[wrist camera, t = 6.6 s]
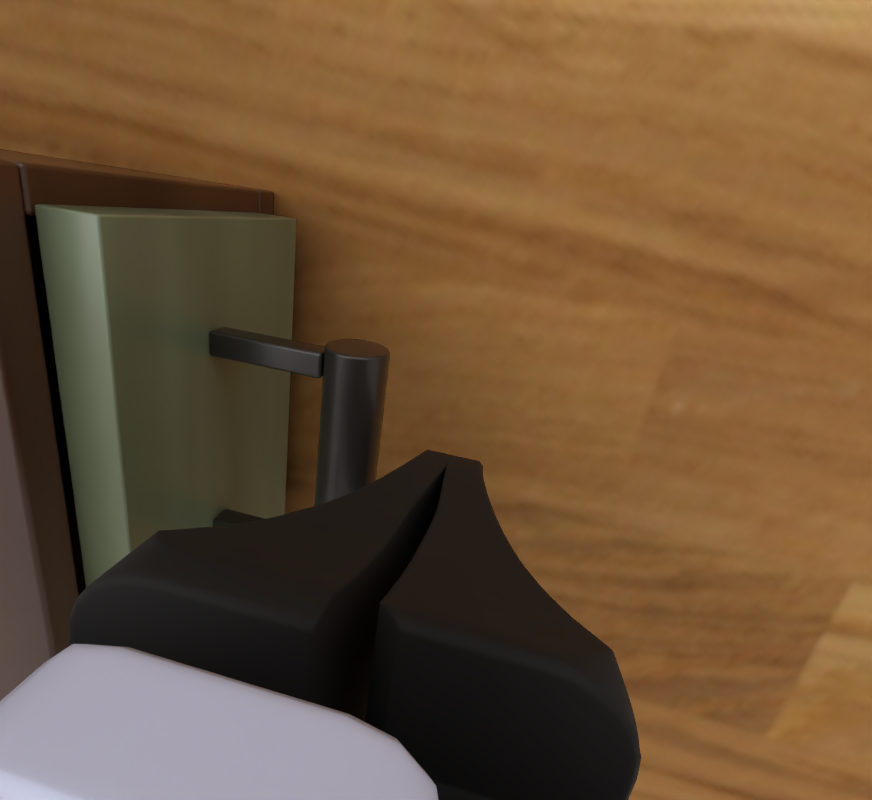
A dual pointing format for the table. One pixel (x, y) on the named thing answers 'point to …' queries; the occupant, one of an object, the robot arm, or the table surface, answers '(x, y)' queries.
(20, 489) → the cabinet
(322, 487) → the drawer
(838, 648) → the table surface
